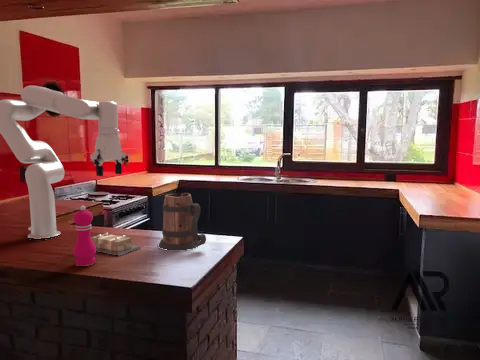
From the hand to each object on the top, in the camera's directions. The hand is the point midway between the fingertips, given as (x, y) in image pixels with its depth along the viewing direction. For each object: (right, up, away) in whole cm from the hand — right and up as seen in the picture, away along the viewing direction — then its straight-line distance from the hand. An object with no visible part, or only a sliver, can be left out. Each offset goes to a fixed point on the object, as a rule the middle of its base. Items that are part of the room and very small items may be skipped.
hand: (109, 174), depth 163 cm
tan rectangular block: (+5, -27, -11) cm, 30 cm away
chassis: (+5, -28, -11) cm, 31 cm away
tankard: (+32, -28, -8) cm, 43 cm away
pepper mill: (+1, -31, -28) cm, 42 cm away
